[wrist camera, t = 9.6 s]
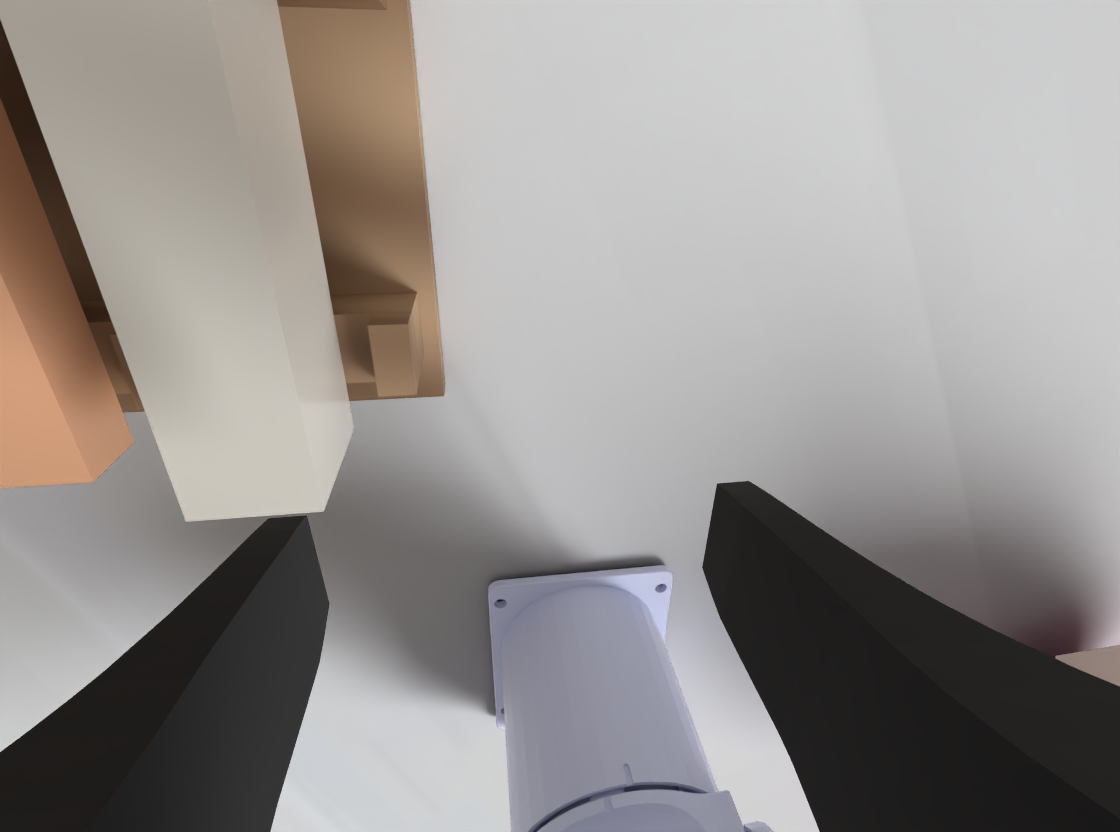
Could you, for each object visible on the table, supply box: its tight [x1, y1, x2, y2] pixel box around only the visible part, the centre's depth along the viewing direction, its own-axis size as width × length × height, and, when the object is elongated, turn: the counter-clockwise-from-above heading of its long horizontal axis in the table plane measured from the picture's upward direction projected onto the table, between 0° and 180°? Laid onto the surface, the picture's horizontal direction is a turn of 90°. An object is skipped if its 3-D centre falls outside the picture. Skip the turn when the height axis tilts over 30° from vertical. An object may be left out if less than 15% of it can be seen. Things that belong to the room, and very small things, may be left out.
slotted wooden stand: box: [0, 0, 445, 412], centre depth 14 cm, size 14×14×4 cm
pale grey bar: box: [0, 0, 354, 522], centre depth 12 cm, size 14×3×4 cm, turn 178°
